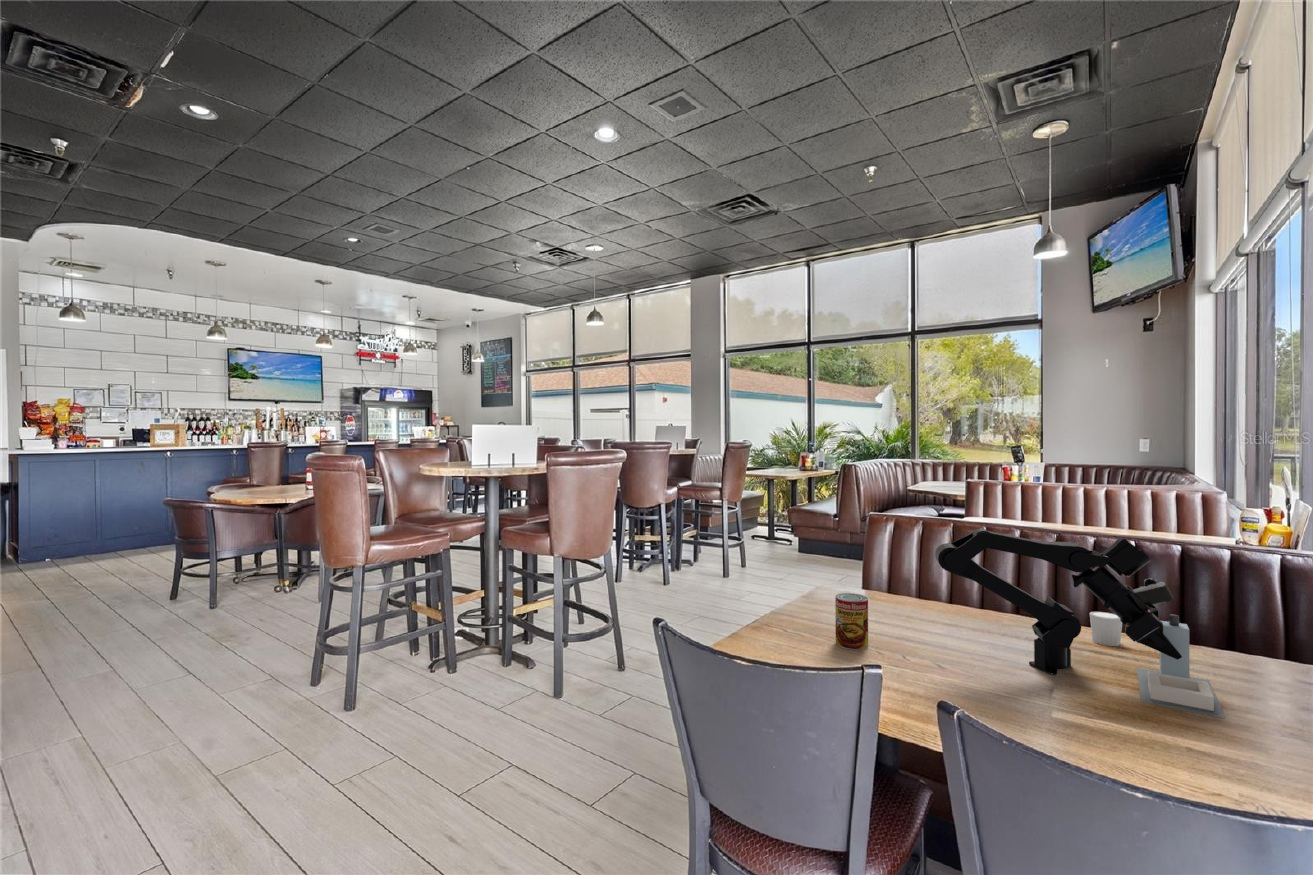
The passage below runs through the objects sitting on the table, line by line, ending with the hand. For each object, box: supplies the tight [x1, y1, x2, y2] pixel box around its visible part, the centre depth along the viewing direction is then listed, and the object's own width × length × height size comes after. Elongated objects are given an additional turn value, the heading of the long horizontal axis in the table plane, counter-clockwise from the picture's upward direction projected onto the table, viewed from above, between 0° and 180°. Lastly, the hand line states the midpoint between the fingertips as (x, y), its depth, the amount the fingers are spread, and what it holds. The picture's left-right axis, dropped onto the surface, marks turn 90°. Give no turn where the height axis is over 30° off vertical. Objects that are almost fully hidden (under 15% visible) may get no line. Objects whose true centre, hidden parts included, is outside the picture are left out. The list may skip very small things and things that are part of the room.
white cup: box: [1089, 611, 1123, 647], centre depth 154 cm, size 7×7×7 cm
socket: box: [1148, 671, 1214, 714], centre depth 117 cm, size 9×9×3 cm
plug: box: [1159, 613, 1191, 679], centre depth 125 cm, size 4×4×14 cm
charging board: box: [1135, 667, 1227, 720], centre depth 121 cm, size 22×12×1 cm, turn 143°
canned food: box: [834, 592, 869, 651], centre depth 152 cm, size 8×8×12 cm
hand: (1177, 651), depth 125 cm, fingers open, 9 cm apart
